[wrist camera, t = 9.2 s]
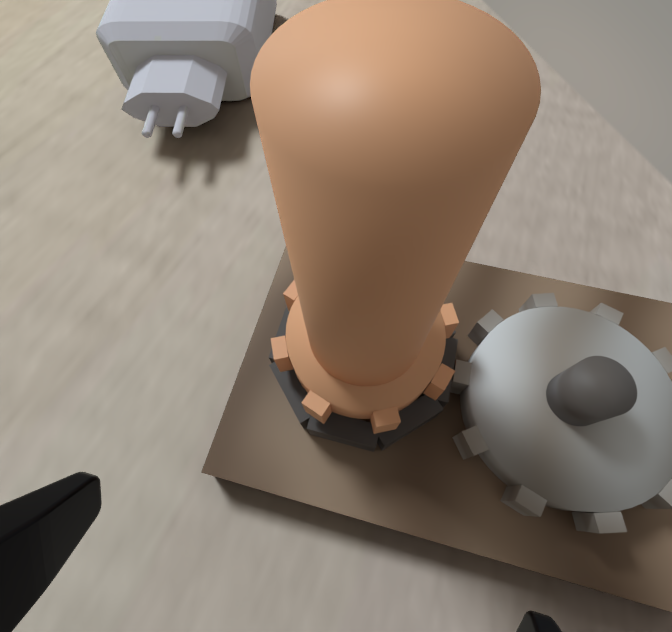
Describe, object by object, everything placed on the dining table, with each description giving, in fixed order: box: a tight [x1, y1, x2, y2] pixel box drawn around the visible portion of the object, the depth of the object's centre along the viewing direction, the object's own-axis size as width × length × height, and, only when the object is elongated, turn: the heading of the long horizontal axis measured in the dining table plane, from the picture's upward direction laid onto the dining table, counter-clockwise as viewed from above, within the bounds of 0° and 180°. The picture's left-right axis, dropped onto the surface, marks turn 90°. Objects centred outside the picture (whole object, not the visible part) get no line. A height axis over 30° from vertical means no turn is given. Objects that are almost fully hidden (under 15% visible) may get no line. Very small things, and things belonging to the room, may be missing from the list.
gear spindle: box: [250, 0, 541, 434], centre depth 12 cm, size 7×7×13 cm
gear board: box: [202, 247, 672, 612], centre depth 16 cm, size 18×12×5 cm, turn 75°
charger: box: [96, 0, 277, 138], centre depth 26 cm, size 5×9×15 cm
